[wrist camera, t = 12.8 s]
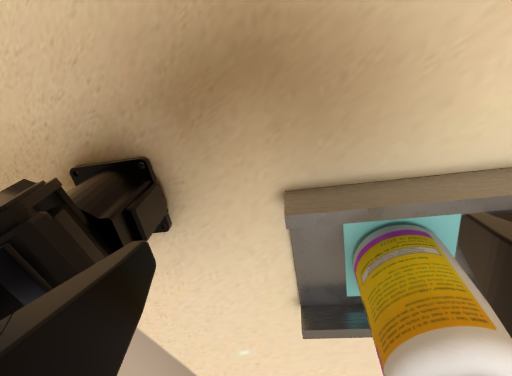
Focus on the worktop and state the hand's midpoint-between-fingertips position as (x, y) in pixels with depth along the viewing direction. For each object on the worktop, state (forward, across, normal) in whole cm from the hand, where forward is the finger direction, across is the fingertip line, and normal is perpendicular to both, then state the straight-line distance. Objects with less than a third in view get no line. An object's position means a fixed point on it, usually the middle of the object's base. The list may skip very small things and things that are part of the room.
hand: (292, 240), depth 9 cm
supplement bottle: (+12, -7, +11) cm, 18 cm away
